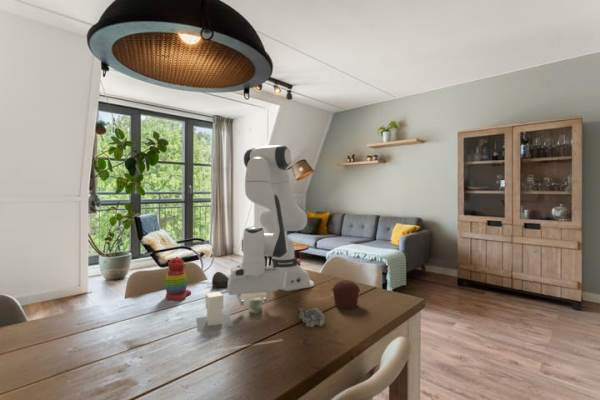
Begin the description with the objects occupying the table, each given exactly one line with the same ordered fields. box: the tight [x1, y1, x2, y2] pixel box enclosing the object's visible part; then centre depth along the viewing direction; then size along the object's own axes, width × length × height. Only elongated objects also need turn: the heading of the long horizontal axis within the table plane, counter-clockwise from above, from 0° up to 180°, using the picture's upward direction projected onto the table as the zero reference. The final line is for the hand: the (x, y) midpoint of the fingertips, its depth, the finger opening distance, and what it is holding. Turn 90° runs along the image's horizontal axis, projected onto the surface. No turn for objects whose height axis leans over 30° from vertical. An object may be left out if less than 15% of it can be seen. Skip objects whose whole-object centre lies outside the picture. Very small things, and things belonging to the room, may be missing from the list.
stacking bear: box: [164, 256, 192, 302], centre depth 142 cm, size 11×10×18 cm
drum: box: [248, 297, 263, 314], centre depth 124 cm, size 5×5×5 cm
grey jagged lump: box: [298, 306, 325, 328], centre depth 116 cm, size 11×8×4 cm
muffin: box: [331, 279, 361, 310], centre depth 131 cm, size 12×11×10 cm
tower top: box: [205, 291, 224, 312], centre depth 113 cm, size 5×5×5 cm
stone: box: [211, 271, 229, 288], centre depth 159 cm, size 10×8×10 cm
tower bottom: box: [206, 309, 223, 326], centre depth 113 cm, size 5×5×5 cm
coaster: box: [196, 313, 234, 333], centre depth 113 cm, size 12×12×1 cm
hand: (253, 303), depth 124 cm, fingers open, 8 cm apart
